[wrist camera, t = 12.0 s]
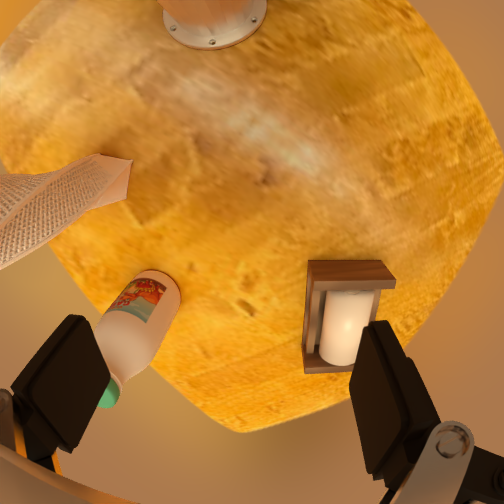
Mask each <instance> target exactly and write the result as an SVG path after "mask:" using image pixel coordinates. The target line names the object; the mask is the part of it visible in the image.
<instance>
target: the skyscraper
mask: <svg viewBox="0 0 504 504" xmlns="http://www.w3.org/2000/svg"><path fill="white" fill-rule="evenodd" d="M132 163H133V160H132V159H131V160H125V159H120V158H115V157H110V156H104V155H101V153H97V154H93V155H90V156H86V157H84V158H81V159H79V160H77V161H75V162H73V163H71V164H69V165H67V166H65V167H64V168H62V169H60V170H57V171H53V172H49V173H44V174H37V175H30V174H3V175H0V270H1V269H3V268H5V267H6V266H8V265H10V264H12V263H14V262H15V261H17V260H19V259H21V258H22V257H24V256H26V255H28V254H29V253H31V252H33V251H34V250H36V249H38V248H39V247H41V246H42V245H43V244H45V243H47V242H48V241H50V240H51V239H53V238H54V237H55V236H57V235H58V234H59V233H61V232H62V231H64V230H65V229H66V228H67V227H69V226H70V225H71V224H72V223H74V222H75V221H76V220H77V219H78V218H79V217H81V216H82V215H83V214H84V213H85V212H86V211H87V210H91V209H94V208H97V207H101V206H104V205H107V204H111V203H114V202H117V201H121V200H124V199H127V196H126V194H127V187H128V181H129V175H130V169H131V164H132Z"/></svg>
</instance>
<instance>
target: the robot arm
mask: <svg viewBox="0 0 504 504" xmlns="http://www.w3.org/2000/svg"><path fill="white" fill-rule="evenodd" d="M156 1H157V2H158V3H159V4H160V5H161V6H162V7H163V22H164V25H165V28H166V29H167V31H168V32H169V34H170V35H171V36H172V37H173V38H174V39H175V40H177V41H178V42H179V43H181V44H183V45H185V46H187V47H190V48H194V49H200V50H217V49H222V48H227V47H229V46H232V45H235V44H237V43H239V42H241V41H243V40H245V39H246V38H248V37H249V36H250V35H252V34H253V33H254V32H255V31H256V30H257V29H258V28H259V26H260V25H261V23H262V21H263V20H264V17H265V14H266V9H267V0H156ZM253 21H256V23H252V22H253ZM175 29H176V30H175ZM174 30H175V31H174ZM214 42H215V43H216V44H215V45H212V43H214ZM110 379H111V374H110V371H109V369H108V367H107V364H106V362H105V360H104V358H103V355H102V353H101V351H100V348H99V346H98V344H97V341H96V339H95V336H94V334H93V331H92V329H91V326H90V323H89V322H88V321H87V320H86V318H85V317H84V316H82V315H73V314H70V315H68V316H67V317H66V318H65V319H64V320H63V321H62V323H61V324H60V325H59V326H58V327H57V329H56V330H55V331H54V332H53V333H52V335H51V336H50V337H49V338H48V339H47V340H46V342H45V343H44V344H43V345H42V346H41V348H40V349H39V350H38V351H37V353H36V354H35V355H34V356H33V358H32V359H31V360H30V361H29V363H28V364H27V365H26V367H25V368H24V369H23V370H22V372H21V373H20V374H19V376H18V377H17V378H16V380H15V381H14V382H13V384H12V385H11V389H12V390H13V392H14V395H13V396H12V395H11V393H10V392H9V391H8V390H6V389H0V504H139V503H136V502H132V501H129V500H125V499H122V498H119V497H115V496H112V495H109V494H106V493H103V492H101V491H98V490H95V489H92V488H90V487H87V486H85V485H82V484H80V483H77V482H75V481H72V480H70V479H68V478H65V477H63V475H62V471H61V468H60V464H59V461H58V457H57V453H56V448H57V446H58V447H59V448H60V449H61V450H63V451H65V452H68V453H70V454H71V453H72V451H73V449H74V448H76V447H77V446H78V444H79V442H80V440H81V438H82V436H83V434H84V432H85V429H86V428H87V425H88V423H89V421H90V419H91V417H92V415H93V413H94V411H95V409H96V407H97V405H98V403H99V401H100V399H101V398H102V396H103V394H104V392H105V390H106V388H107V386H108V384H109V382H110ZM349 392H350V396H351V400H352V405H353V409H354V413H355V418H356V422H357V427H358V431H359V436H360V440H361V446H362V451H363V456H364V460H365V465H366V471H367V473H368V474H372V475H373V480H374V481H375V480H380V479H384V482H385V487H387V489H386V490H385V492H384V494H383V495H382V497H381V498H380V500H379V501H378V503H377V504H504V457H501V456H499V455H496V454H494V453H491V452H489V451H486V450H484V449H481V448H479V447H476V446H474V437H473V434H472V432H471V430H470V429H469V428H468V427H467V426H466V425H464V424H462V423H460V422H457V421H445V422H443V423H441V421H440V418H439V416H438V414H437V411H436V409H435V407H434V405H433V402H432V400H431V398H430V396H429V394H428V391H427V389H426V387H425V385H424V383H423V380H422V378H421V377H420V374H419V372H418V370H417V368H416V366H415V364H414V362H413V360H412V359H411V358H409V357H406V355H405V353H404V351H403V349H402V347H401V345H400V343H399V341H398V339H397V337H396V335H395V333H394V331H393V329H392V327H391V326H390V324H389V322H388V321H387V320H381V321H371V322H369V324H368V326H364V327H363V330H362V335H361V339H360V343H359V348H358V352H357V356H356V360H355V364H354V368H353V371H352V375H351V379H350V383H349Z"/></svg>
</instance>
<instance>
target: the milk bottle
mask: <svg viewBox="0 0 504 504" xmlns="http://www.w3.org/2000/svg"><path fill="white" fill-rule="evenodd" d="M180 302H181V297H180V292H179V289H178V287H177V285H176V284H175V282H174V281H173V280H172V279H171V278H170V277H169V276H167V275H166V274H164V273H162V272H159V271H154V270H151V271H150V270H149V271H144V272H141V273H139V274H138V275H137V276H136V277H135V278H134V279H133V280H132V281H131V282H130V283H129V284H128V286H127V287H126V288H125V289H124V290H123V291H122V293H121V294H120V295H119V296H118V297H117V299H116V300H115V301H114V302H113V303H112V305H111V306H110V307H109V308H108V310H107V311H106V312H105V314H104V315H103V316H102V318H101V320H100V321H99V323H98V325H97V326H96V329H95V331H94V336H95V339H96V341H97V344H98V346H99V348H100V351H101V353H102V355H103V358H104V360H105V362H106V364H107V367H108V369H109V371H110V374H111V379H110V382H109V384H108V386H107V388H106V390H105V392H104V394H103V396H102V398H101V399H100V401H99V403H98V405H97V406H99V407H103V408H111V407H113V406H114V405H115V404H116V402H117V400H118V398H119V396H120V393H121V392H122V385H123V384H124V383H125V382H126V381H127V380H128V379H130V378H131V377H133V376H134V375H136V374H138V373H139V372H141V371H142V370H143V369H145V368H146V367H147V366H148V365H149V364H150V362H151V361H152V360H153V358H154V356H155V355H156V353H157V351H158V349H159V347H160V345H161V343H162V341H163V339H164V337H165V335H166V333H167V331H168V329H169V327H170V325H171V323H172V321H173V319H174V317H175V315H176V313H177V311H178V308H179V306H180Z"/></svg>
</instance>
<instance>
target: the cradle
mask: <svg viewBox="0 0 504 504" xmlns="http://www.w3.org/2000/svg"><path fill="white" fill-rule="evenodd" d="M395 284H396V279H395V277H394V276H393V275H392V274H391V272H390V271H389V270H388V269H387V267H386V266H385V265H384V264H383V262H382V261H381V260H308V273H307V288H306V302H305V314H304V326H303V337H302V347H301V348H302V356H303V365H304V373H305V374H316V373H336V372H350V371H353V368H354V364H355V363H353V364H350V365H346V366H338V365H333V364H330V363H328V362H326V361H325V360H324V359H323V358H322V357H321V356H320V354H319V346H320V339H321V332H322V325H323V317H324V309H325V301H326V292H327V291H334V290H374V291H375V293H374V298H373V303H372V308H371V313H370V318H369V322H371V321H375V317H376V313H377V308H378V304H379V299H380V294H381V289H395ZM369 322H368V324H369Z"/></svg>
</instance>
